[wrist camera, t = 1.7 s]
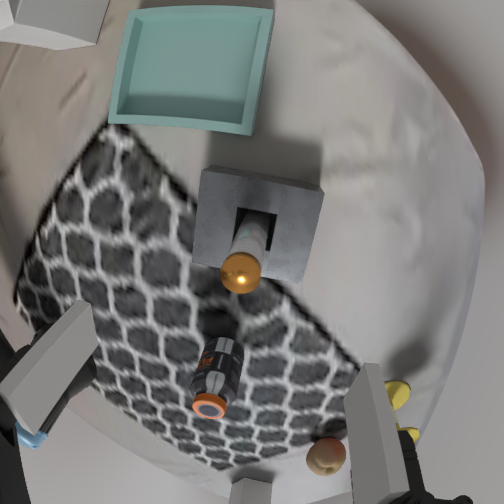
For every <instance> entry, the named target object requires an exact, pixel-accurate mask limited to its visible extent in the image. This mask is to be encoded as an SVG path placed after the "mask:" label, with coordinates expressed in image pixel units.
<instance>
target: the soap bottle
mask: <svg viewBox="0 0 504 504" xmlns="http://www.w3.org/2000/svg"><path fill="white" fill-rule="evenodd" d="M271 493H272V484H271V483H266V482H262V481H257V480H253V479H249V478H243V479H241V480H239V481H237V482H236V483H234V484H232V488H231V493H230V499H229V504H271Z"/></svg>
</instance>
